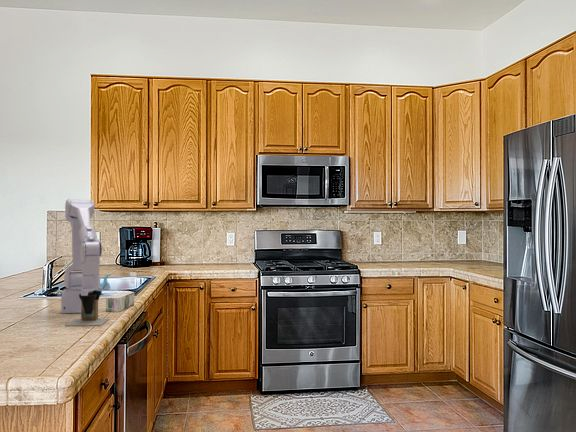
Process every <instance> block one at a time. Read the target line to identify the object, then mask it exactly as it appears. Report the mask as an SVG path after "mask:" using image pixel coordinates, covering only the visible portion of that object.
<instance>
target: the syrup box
mask: <svg viewBox="0 0 576 432" xmlns="http://www.w3.org/2000/svg"><path fill="white" fill-rule="evenodd" d="M134 305H135V291H121V292H120V291H119V292H118V293H115V294H112V295H108V296H106V297H105V312H113V313H114V312H117V313H119V312H121V311H124V310H126V309H128V308H131V307H134Z"/></svg>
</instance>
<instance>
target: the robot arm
mask: <svg viewBox="0 0 576 432" xmlns="http://www.w3.org/2000/svg"><path fill="white" fill-rule="evenodd" d="M64 205H65V207H64V209H65V215H64V216H65V220H66V222H67V221H68V222H69V223H70V226H71V251H72V254H71V255H72V256H71V257H72V258H71V260H72V263H71V264H70V265H69V266H67V267H66V268H65V270H64V277H63V281H64V283H63V284H64V287H65V288H64V289H62V291H61V299H60V300H61V302H60V303H61V304H60V307H61V308H60V314H81V303H83V307H84V311H85V314H92V311H93V305H94V301H95V300H98V301H99V299H100V297H101V295H102V292H103V290H104V289H103V287H100V284H101V283H100V284H99V282H100V258H101V256H102V253H103V247H102V242H101V240H100V239H99V238H98V235H97V232H96V228H95V226H92V221H91V220H92V217H93V215H94V213H95V202H94V199H78V198H77V199H75V198H73V199H71V198H68V199H66V201H65V204H64ZM99 289H102V291H97V290H99Z"/></svg>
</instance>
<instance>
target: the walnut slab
mask: <svg viewBox="0 0 576 432" xmlns="http://www.w3.org/2000/svg"><path fill="white" fill-rule="evenodd" d="M80 315H81V317H80V319H81V321H95V320H97V319H99V300H95V301H94V305H93V311H92V314H85V311H84V307H83V303H81V313H80Z"/></svg>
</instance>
